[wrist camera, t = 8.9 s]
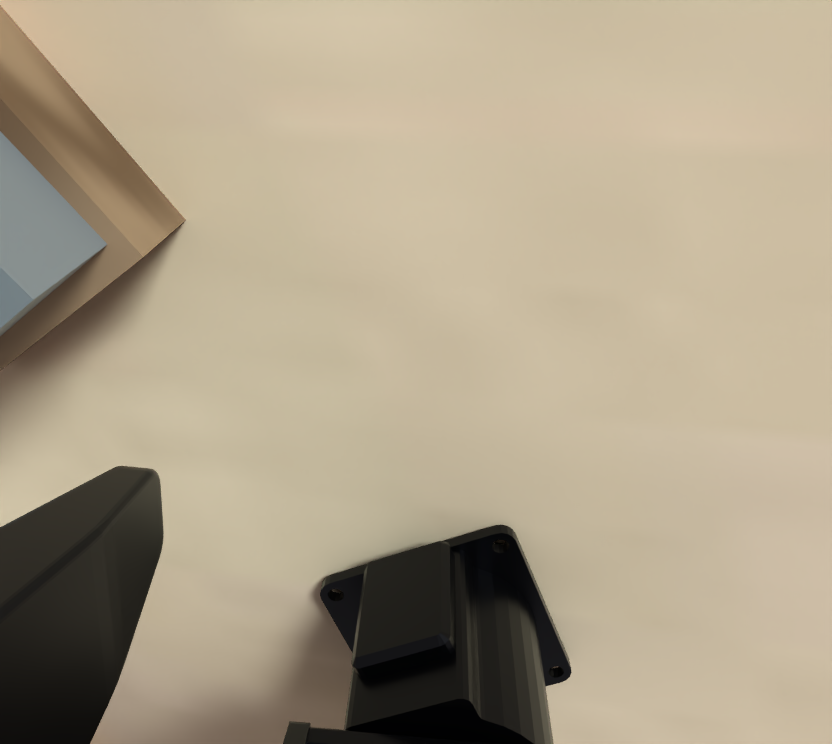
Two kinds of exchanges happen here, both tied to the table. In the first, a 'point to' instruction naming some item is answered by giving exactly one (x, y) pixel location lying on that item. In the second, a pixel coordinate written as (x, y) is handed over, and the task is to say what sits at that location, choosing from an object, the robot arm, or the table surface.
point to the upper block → (35, 237)
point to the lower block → (74, 181)
